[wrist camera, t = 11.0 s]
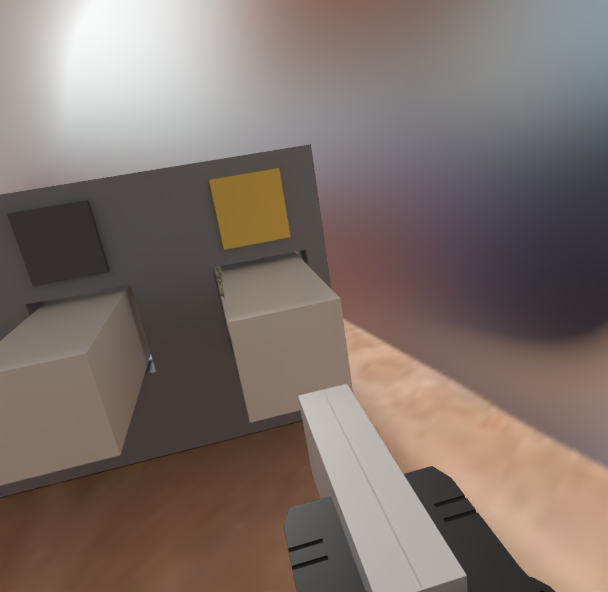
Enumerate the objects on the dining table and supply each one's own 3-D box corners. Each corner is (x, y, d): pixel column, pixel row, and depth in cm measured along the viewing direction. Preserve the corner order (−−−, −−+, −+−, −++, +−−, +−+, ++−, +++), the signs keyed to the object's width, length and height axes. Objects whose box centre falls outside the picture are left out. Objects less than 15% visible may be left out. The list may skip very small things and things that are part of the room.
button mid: (-1, 486, 17) (-49, 382, 15) (76, 366, 27) (52, 296, 25) (120, 455, 17) (85, 353, 16) (152, 349, 27) (132, 280, 26)
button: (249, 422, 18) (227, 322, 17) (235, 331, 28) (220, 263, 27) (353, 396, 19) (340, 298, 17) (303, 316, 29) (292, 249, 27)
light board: (-119, 532, 24) (-286, 241, 19) (-38, 440, 32) (-142, 218, 27) (350, 412, 28) (312, 144, 23) (318, 357, 36) (285, 148, 31)
